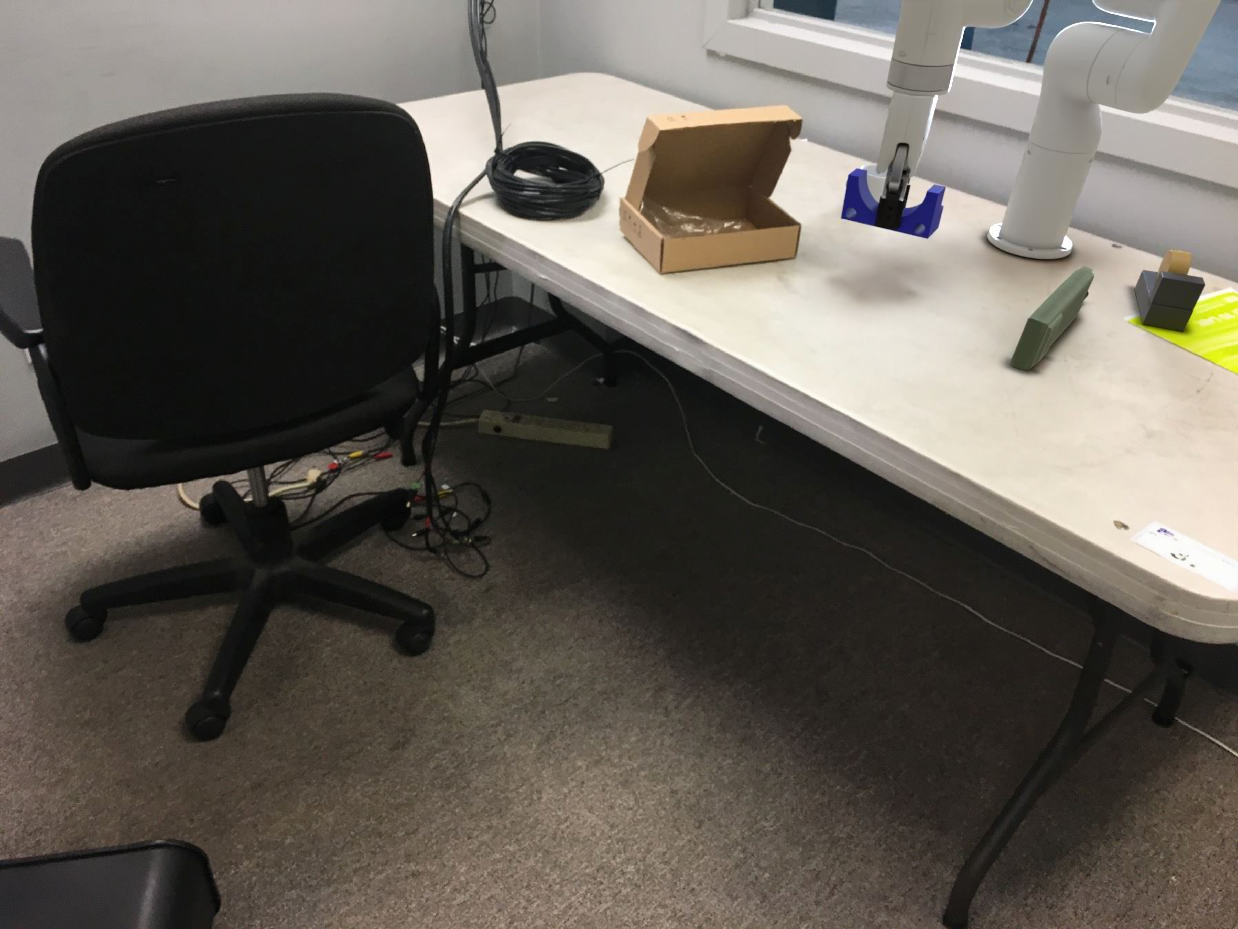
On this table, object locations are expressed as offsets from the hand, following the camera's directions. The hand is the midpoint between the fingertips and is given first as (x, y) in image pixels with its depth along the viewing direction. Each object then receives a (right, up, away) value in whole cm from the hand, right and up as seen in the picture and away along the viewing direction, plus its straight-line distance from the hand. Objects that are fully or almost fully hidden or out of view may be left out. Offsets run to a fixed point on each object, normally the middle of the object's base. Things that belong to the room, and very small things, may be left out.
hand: (889, 218), depth 116 cm
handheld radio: (+20, -16, -3) cm, 26 cm away
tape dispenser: (+38, -11, +4) cm, 40 cm away
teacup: (+7, +13, +34) cm, 37 cm away
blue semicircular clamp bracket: (0, -1, +1) cm, 1 cm away
